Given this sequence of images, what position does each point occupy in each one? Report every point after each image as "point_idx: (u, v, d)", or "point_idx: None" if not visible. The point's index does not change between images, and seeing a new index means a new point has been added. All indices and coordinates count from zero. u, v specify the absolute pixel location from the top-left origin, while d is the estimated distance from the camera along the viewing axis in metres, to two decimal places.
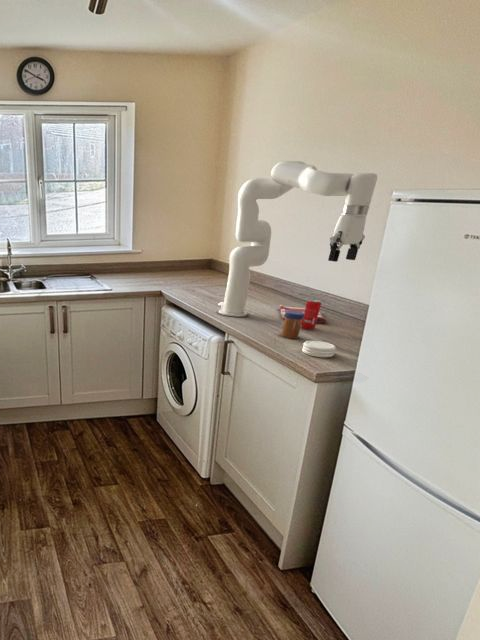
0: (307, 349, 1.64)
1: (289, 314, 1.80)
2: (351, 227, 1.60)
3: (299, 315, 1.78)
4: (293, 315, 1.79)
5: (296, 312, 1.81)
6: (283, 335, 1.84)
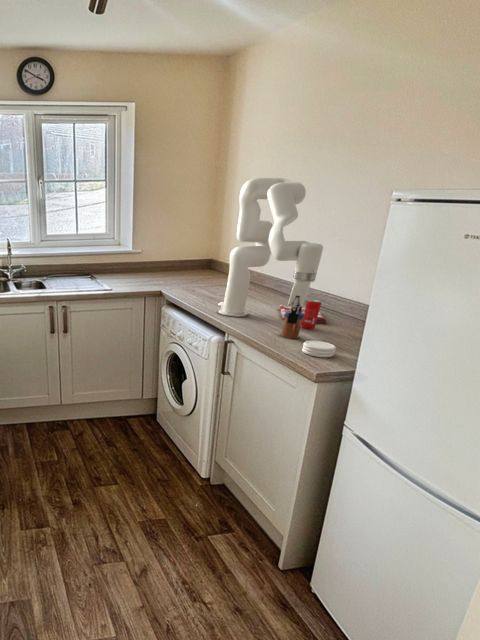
0: (307, 349, 1.64)
1: None
2: (306, 292, 1.74)
3: (299, 315, 1.78)
4: None
5: None
6: (283, 335, 1.84)
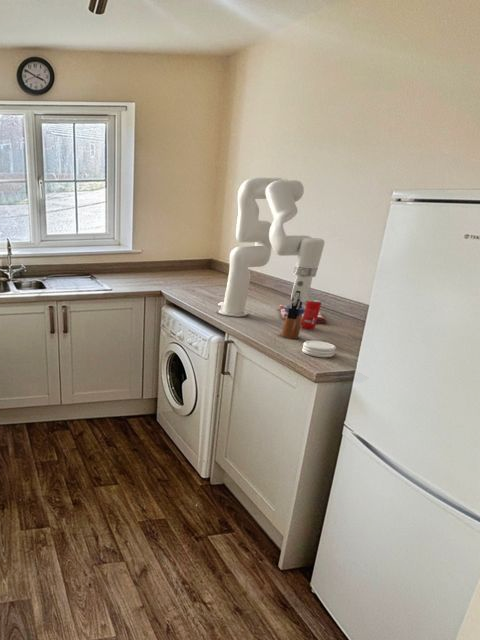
0: (307, 349, 1.64)
1: None
2: None
3: None
4: None
5: None
6: (283, 335, 1.84)
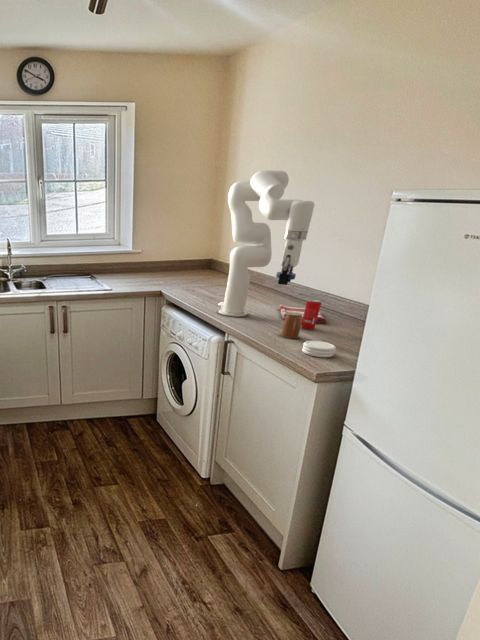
0: (307, 349, 1.64)
1: None
2: None
3: None
4: None
5: None
6: (283, 335, 1.84)
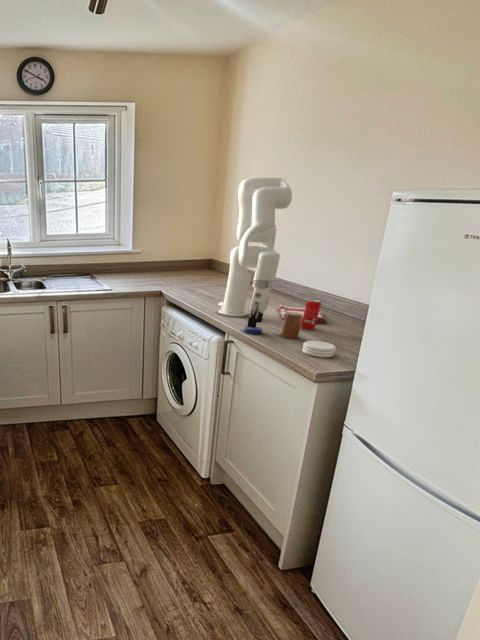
0: (307, 349, 1.64)
1: None
2: None
3: None
4: None
5: (252, 328, 1.90)
6: (283, 335, 1.84)
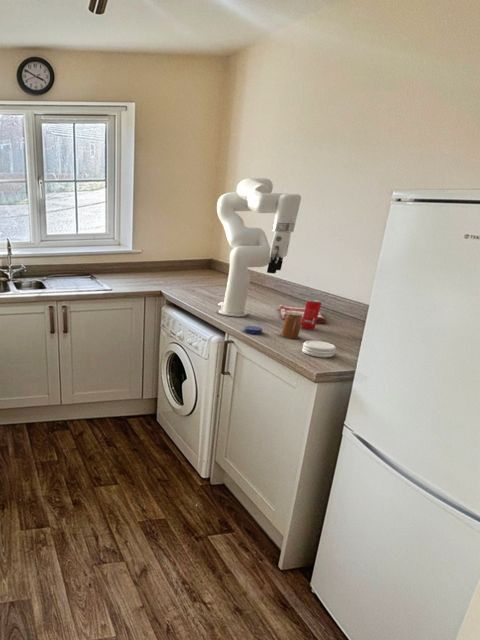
0: (307, 349, 1.64)
1: None
2: None
3: None
4: None
5: (252, 328, 1.90)
6: (283, 335, 1.84)
